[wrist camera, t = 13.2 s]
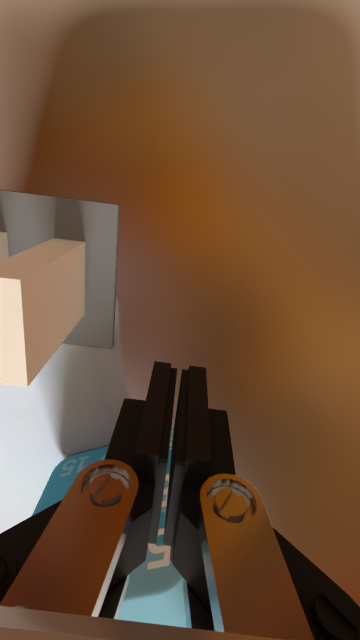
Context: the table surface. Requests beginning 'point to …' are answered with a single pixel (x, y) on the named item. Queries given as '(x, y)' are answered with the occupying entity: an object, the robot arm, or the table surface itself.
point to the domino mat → (78, 225)
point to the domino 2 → (38, 306)
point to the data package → (153, 574)
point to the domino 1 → (3, 246)
